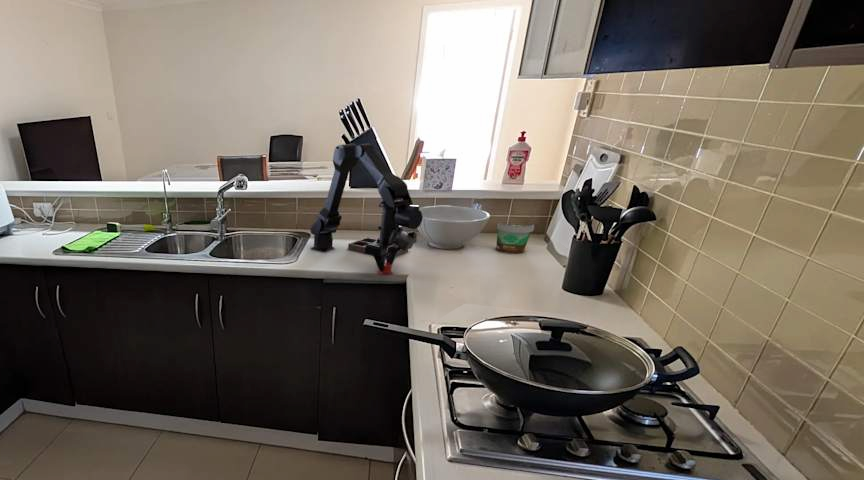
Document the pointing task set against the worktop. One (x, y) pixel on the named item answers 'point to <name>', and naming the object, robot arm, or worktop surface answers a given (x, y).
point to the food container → (512, 238)
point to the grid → (361, 244)
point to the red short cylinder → (386, 268)
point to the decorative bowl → (451, 225)
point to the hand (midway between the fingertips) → (385, 269)
